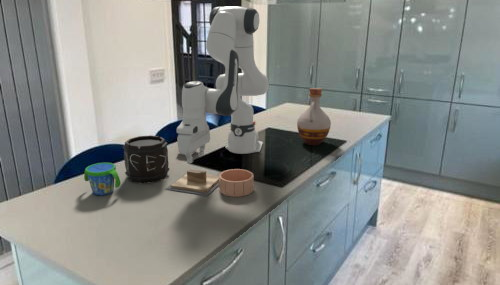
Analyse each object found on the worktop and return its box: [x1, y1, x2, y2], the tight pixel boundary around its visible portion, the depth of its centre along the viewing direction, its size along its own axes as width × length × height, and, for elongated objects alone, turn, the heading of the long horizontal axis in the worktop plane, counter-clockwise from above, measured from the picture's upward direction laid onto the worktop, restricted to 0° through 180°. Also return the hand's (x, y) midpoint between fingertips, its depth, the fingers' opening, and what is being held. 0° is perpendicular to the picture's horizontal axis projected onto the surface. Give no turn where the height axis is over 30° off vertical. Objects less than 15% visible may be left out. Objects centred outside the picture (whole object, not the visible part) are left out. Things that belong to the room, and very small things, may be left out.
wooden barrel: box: [122, 134, 170, 185], centre depth 155 cm, size 18×18×16 cm
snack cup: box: [83, 162, 121, 197], centre depth 141 cm, size 16×10×10 cm
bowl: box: [218, 168, 255, 198], centre depth 144 cm, size 13×13×6 cm
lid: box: [170, 168, 219, 193], centre depth 149 cm, size 15×15×5 cm
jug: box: [296, 87, 332, 146], centre depth 198 cm, size 20×18×30 cm
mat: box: [165, 172, 219, 197], centre depth 150 cm, size 18×18×1 cm
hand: (196, 159), depth 146 cm, fingers open, 8 cm apart
